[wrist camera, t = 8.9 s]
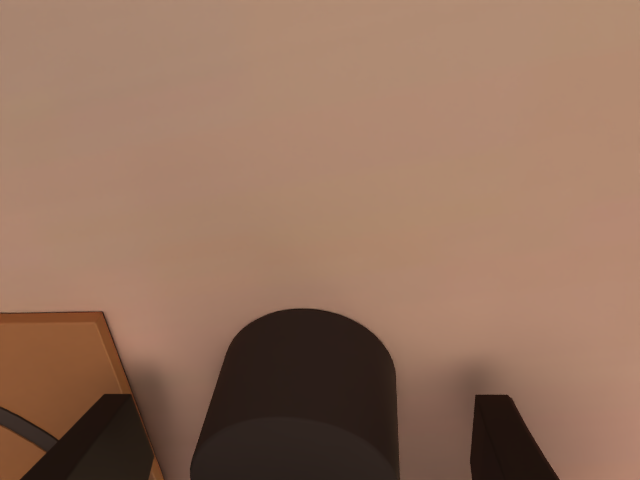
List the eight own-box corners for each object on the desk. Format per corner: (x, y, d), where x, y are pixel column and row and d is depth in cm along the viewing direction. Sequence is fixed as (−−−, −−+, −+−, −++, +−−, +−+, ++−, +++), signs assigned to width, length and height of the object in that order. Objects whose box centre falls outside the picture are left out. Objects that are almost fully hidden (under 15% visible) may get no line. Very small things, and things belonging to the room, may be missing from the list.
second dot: (396, 433, 14) (401, 554, 11) (239, 431, 14) (210, 547, 12) (393, 306, 12) (398, 419, 9) (210, 309, 12) (167, 418, 10)
